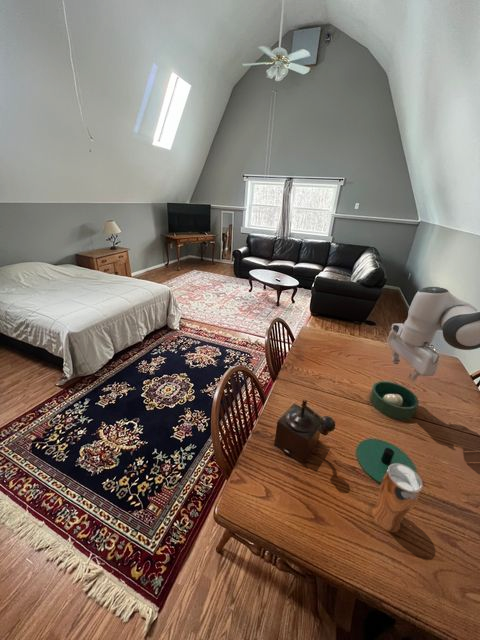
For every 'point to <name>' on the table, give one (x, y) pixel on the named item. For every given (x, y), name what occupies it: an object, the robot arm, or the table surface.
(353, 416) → the table surface
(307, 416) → the manual coffee grinder
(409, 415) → the basin
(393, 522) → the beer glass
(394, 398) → the egg
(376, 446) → the lid
